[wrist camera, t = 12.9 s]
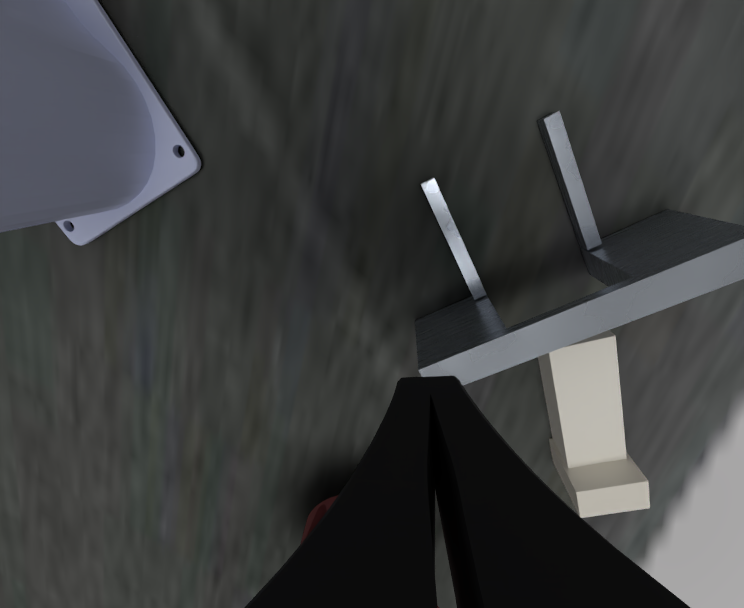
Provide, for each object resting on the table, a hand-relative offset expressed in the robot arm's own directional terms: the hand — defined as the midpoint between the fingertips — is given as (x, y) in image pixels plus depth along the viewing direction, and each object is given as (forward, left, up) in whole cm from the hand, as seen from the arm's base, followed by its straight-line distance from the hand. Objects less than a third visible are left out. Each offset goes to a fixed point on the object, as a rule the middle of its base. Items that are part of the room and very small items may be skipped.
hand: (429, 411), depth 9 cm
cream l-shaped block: (+10, +4, -10) cm, 15 cm away
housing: (0, +5, -10) cm, 11 cm away
